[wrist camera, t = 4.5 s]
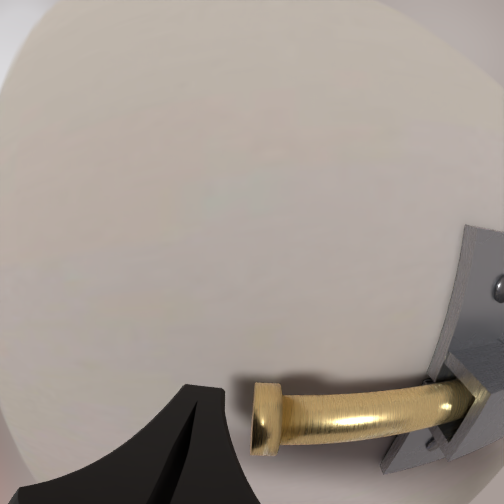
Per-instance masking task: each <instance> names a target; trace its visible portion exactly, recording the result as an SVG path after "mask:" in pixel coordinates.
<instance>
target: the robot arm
mask: <svg viewBox="0 0 504 504" xmlns="http://www.w3.org/2000/svg"><path fill="white" fill-rule="evenodd" d="M8 504H260V502H259V501H258V499H257V497H256V496H255V494H254V492H253V490H252V489H251V487H250V485H249V483H248V481H247V479H246V477H245V475H244V473H243V470H242V468H241V466H240V463H239V461H238V458H237V456H236V453H235V450H234V447H233V444H232V441H231V438H230V434H229V430H228V426H227V422H226V416H225V391H224V390H223V389H222V388H214V387H205V386H197V385H189V384H185V385H184V386H182V388H181V389H180V390H179V391H178V393H177V394H176V395H175V396H174V397H173V398H172V400H171V401H170V402H169V403H168V404H167V405H166V406H165V407H164V408H163V409H162V410H161V411H160V412H159V413H158V414H157V415H156V416H155V417H154V418H153V419H152V420H151V421H150V422H149V423H148V424H147V425H146V426H145V427H144V428H143V429H141V430H140V431H139V432H138V433H137V434H136V435H134V436H133V437H132V438H131V439H129V440H128V441H127V442H125V443H124V444H123V445H121V446H120V447H119V448H117V449H116V450H114V451H113V452H111V453H109V454H108V455H106V456H104V457H103V458H101V459H99V460H97V461H96V462H94V463H92V464H90V465H88V466H86V467H84V468H82V469H80V470H77V471H75V472H72V473H70V474H67V475H65V476H62V477H59V478H57V479H53V480H50V481H46V482H42V483H38V484H34V485H30V486H24V487H20V488H19V489H18V490H17V491H16V493H15V494H14V496H13V497H12V499H11V500H10V502H9V503H8Z"/></svg>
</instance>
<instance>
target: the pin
mask: <svg viewBox="0 0 504 504" xmlns="http://www.w3.org/2000/svg"><path fill="white" fill-rule="evenodd" d="M475 399H476V398H475V397H474V396H473V395H472V393H471V392H470V391H469V390H468V389H467V388H466V387H465V386H464V384H463V383H462V382H461V381H460V380H459V379H455V380H451V381H446V382H441V383H435V384H430V385H424V386H417V387H411V388H404V389H396V390H387V391H378V392H367V393H354V394H335V395H282V390H281V385H280V384H279V383H257V382H255V387H254V396H253V408H252V422H251V439H250V455H259V456H276V455H277V453H278V449H279V445H310V444H328V443H340V442H351V441H359V440H367V439H374V438H380V437H386V436H392V435H397V434H403V433H407V432H412V431H417V430H421V429H425V428H429V427H433V426H437V425H440V424H444V423H447V422H451V421H454V420H457V419H460V418H464V417H466V415H467V414H468V412H469V410H470V408H471V406H472V405H473V403H474V401H475Z"/></svg>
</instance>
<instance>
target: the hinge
mask: <svg viewBox="0 0 504 504" xmlns="http://www.w3.org/2000/svg"><path fill="white" fill-rule="evenodd" d="M427 374H428V375H429V376H430V378H431V379H428V380H424V381H423V384H422V386H424V385H430V384H435V383H441V382H446V381H451V380H455V379H459V380H460V381H461V382H462V383H463V384H464V386H465V387H466V388H467V389H468V390H469V391H470V392H471V393H472V395H473V396H474V397H475V398H476V399H475V401H474V403H473V405H472V406H471V408H470V410H469V412H468V414H467V415H466V417H464V418H460V419H457V420H454V421H451V422H447V423H444V424H440V425H437V426H433V427H429V428H425V429H421V430H417V431H412V432H407V433H403V434H398V435H397V437H396V439H395V441H394V442H393V444H392V446H391V448H390V449H389V451H388V453H387V454H386V456H385V458H384V459H383V461H382V462H381V464H380V467H381V470H382V472H383V475H384V474H388V473H393V472H397V471H401V470H405V469H409V468H413V467H416V466H420V465H423V464H426V463H430V462H433V461H436V460H439V459H442V458H446V459H447V461H448V462H449V461H451V460H454V459H456V458H459V457H461V456H464V455H466V454H469V453H471V452H473V451H476V450H478V449H480V448H482V447H484V446H486V445H488V444H490V443H492V442H494V441H496V440H498V439H500V438H502V437H503V436H504V232H501V231H496V230H491V229H486V228H481V227H475V226H470V225H465V229H464V236H463V243H462V249H461V255H460V261H459V266H458V271H457V276H456V280H455V285H454V289H453V293H452V297H451V301H450V305H449V309H448V312H447V316H446V319H445V323H444V326H443V329H442V332H441V336H440V339H439V342H438V345H437V347H436V350H435V353H434V356H433V359H432V361H431V364H430V366H429V369H428V372H427Z"/></svg>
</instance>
